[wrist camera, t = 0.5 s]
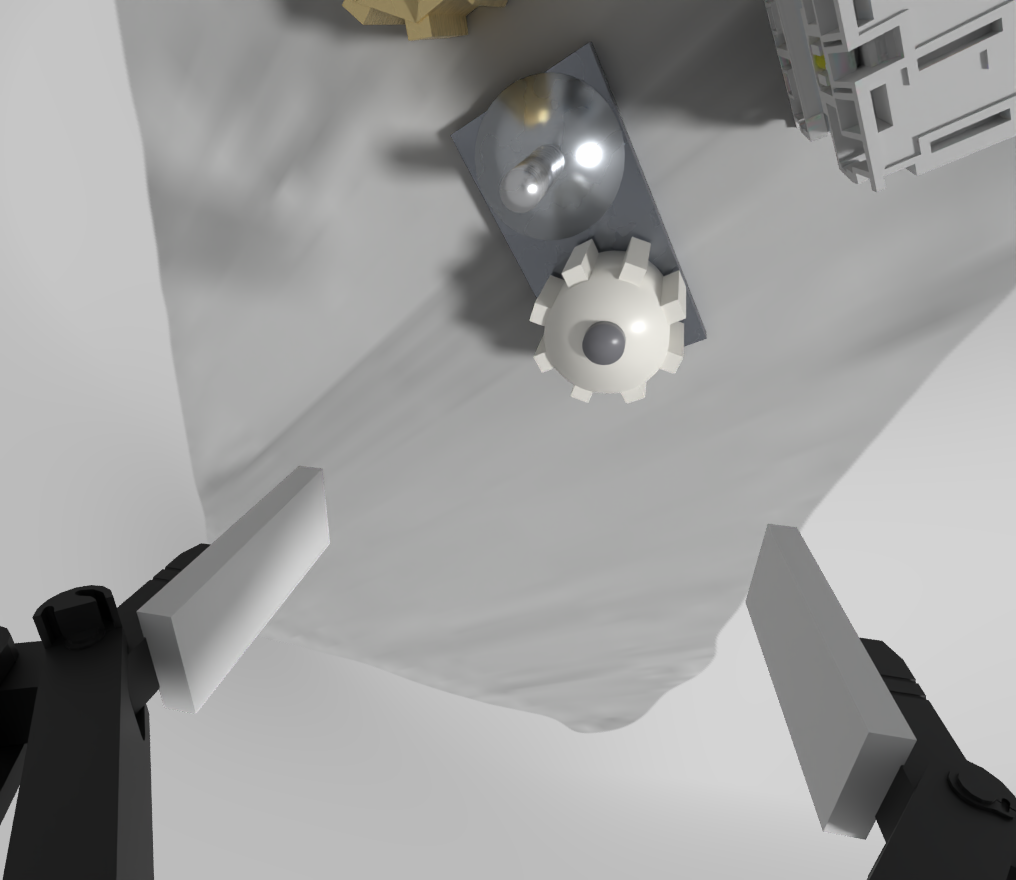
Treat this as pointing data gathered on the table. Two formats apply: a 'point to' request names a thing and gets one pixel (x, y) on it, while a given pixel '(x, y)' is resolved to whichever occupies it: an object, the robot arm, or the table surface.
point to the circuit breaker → (898, 79)
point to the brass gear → (419, 15)
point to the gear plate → (565, 174)
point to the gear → (611, 321)
